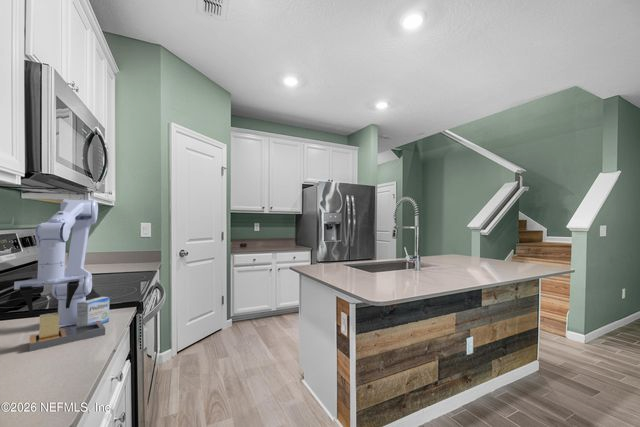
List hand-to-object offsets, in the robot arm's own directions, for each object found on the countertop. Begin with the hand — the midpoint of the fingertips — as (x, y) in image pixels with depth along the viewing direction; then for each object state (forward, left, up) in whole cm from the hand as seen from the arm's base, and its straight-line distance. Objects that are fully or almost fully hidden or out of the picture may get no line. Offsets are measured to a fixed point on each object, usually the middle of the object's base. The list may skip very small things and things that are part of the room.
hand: (49, 310), depth 82 cm
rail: (0, +4, -9) cm, 10 cm away
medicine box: (-10, +11, -10) cm, 18 cm away
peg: (0, 0, -9) cm, 9 cm away
